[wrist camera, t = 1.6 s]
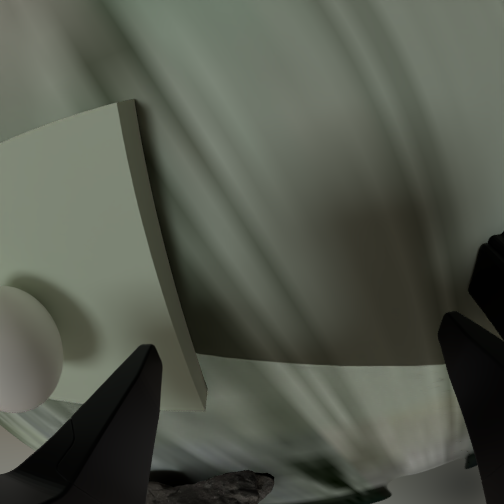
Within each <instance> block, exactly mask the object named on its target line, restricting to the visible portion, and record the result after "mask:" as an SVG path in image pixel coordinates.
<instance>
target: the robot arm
mask: <svg viewBox="0 0 504 504" xmlns="http://www.w3.org/2000/svg"><path fill="white" fill-rule="evenodd" d="M468 291H469V294H470V295H471V296H472V298H473V299H474V300H475V302H476V303H477V304H478V305H479V307H480V308H481V309H482V311H483V312H484V313H485V315H486V316H487V318H488V319H489V320H490V322H491V323H492V324H493V326H494V327H495V329H496V330H497V332H498V333H499V334H500V336H501V337H502V339H503V340H504V231H503V233H502V234H500V235H493V236H491V237H490V238H489V241H488V244H483V245H482V246H481V248H480V252H479V256H478V259H477V263H476V267H475V270H474V274H473V277H472V280H471V284H470V287H469V290H468ZM438 339H439V343H440V346H441V349H442V353H443V356H444V360H445V364H446V367H447V371H448V374H449V378H450V380H451V383H452V386H453V389H454V391H455V394H456V397H457V400H458V403H459V406H460V408H461V411H462V414H463V417H464V420H465V423H466V427H467V430H468V433H469V436H470V440H471V443H472V446H473V450H474V453H475V457H476V461H477V464H478V468H479V472H480V476H481V480H482V485H483V490H484V494H485V498H486V503H487V504H504V341H502V340H501V339H499V338H498V337H496V336H495V335H493V334H492V333H490V332H489V331H487V330H485V329H484V328H482V327H481V326H479V325H478V324H476V323H475V322H473V321H471V320H470V319H468V318H467V317H465V316H463V315H462V314H460V313H459V312H457V311H452V312H448V313H445V314H444V316H443V319H442V322H441V325H440V328H439V331H438ZM162 372H163V365H162V361H161V359H160V356H159V354H158V352H157V349H156V347H155V346H154V345H153V344H141V345H139V346H138V347H137V348H136V350H135V351H134V352H133V353H132V354H131V355H130V356H129V357H128V358H127V359H126V360H125V361H124V362H123V363H122V364H121V365H120V366H119V367H118V368H117V369H116V370H115V371H114V372H113V373H112V375H111V376H110V377H109V378H108V379H107V380H106V381H105V382H104V383H103V384H102V385H101V386H100V387H99V388H98V389H97V390H96V391H95V392H94V393H93V394H92V396H91V397H90V398H89V399H88V400H87V401H86V402H85V403H84V404H83V405H82V406H81V407H80V408H79V409H78V410H77V411H76V412H75V413H74V415H73V416H72V417H71V419H69V420H68V421H67V422H66V423H65V424H64V425H63V426H62V427H61V428H60V429H59V430H58V431H57V432H56V433H55V434H54V435H53V436H52V437H51V438H50V439H49V440H48V441H47V442H46V443H45V444H43V445H42V446H41V447H40V448H39V449H38V450H37V451H35V452H34V454H32V455H31V456H30V457H29V458H27V459H26V460H25V461H24V462H23V463H22V464H20V465H19V466H18V467H17V468H15V469H14V470H12V471H10V472H8V473H5V474H0V504H146V496H147V489H148V482H149V475H150V468H151V462H152V455H153V449H154V443H155V437H156V431H157V425H158V419H159V413H160V401H161V385H162Z"/></svg>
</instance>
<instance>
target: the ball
mask: <svg viewBox="0 0 504 504" xmlns="http://www.w3.org/2000/svg"><path fill="white" fill-rule="evenodd" d="M62 368H63V346H62V341H61V337H60V334H59V331H58V328H57V326H56V324H55V322H54V320H53V318H52V317H51V315H50V314H49V312H48V311H47V309H46V308H45V307H44V306H43V305H42V304H41V303H40V302H39V301H38V300H37V299H36V298H34V297H33V296H32V295H30V294H28V293H27V292H25V291H23V290H20V289H18V288H15V287H10V286H2V285H0V411H3V412H9V413H20V412H25V411H29V410H32V409H34V408H36V407H38V406H39V405H41V404H42V403H44V402H45V401H46V400H47V399H48V398H49V397H50V395H51V394H52V393H53V391H54V390H55V388H56V386H57V385H58V382H59V379H60V376H61V373H62Z"/></svg>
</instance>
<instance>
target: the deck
mask: <svg viewBox="0 0 504 504" xmlns="http://www.w3.org/2000/svg"><path fill="white" fill-rule="evenodd" d="M0 285H2V286H10V287H15V288H18V289H20V290H23V291H25V292H27V293H28V294H30V295H32V296H33V297H34V298H36V299H37V300H38V301H39V302H40V303H41V304H42V305H43V306H44V307H45V308H46V309H47V311H48V312H49V314H50V315H51V317H52V318H53V320H54V322H55V324H56V326H57V328H58V331H59V334H60V337H61V341H62V346H63V368H62V373H61V376H60V379H59V382H58V385H57V386H56V388H55V390H54V391H53V393H52V394H51V395H50V397H49V398H48V399H53V400H59V401H66V402H72V403H79V404H84V403H85V402H86V401H87V400H88V399H89V398H90V397H91V396H92V394H93V393H94V392H95V391H96V390H97V389H98V388H99V387H100V386H101V385H102V384H103V383H104V382H105V381H106V380H107V379H108V378H109V377H110V376H111V375H112V373H113V372H114V371H115V370H116V369H117V368H118V367H119V366H120V365H121V364H122V363H123V362H124V361H125V360H126V359H127V358H128V357H129V356H130V355H131V354H132V353H133V352H134V351H135V350H136V348H137V347H138V346H139V345H141V344H153V345H154V346H155V347H156V349H157V352H158V354H159V356H160V359H161V361H162V365H163V372H162V385H161V401H160V411H205V409H206V399H207V389H208V388H207V385H206V383H205V380H204V377H203V374H202V371H201V368H200V365H199V362H198V359H197V356H196V353H195V350H194V347H193V343H192V340H191V337H190V334H189V331H188V328H187V324H186V321H185V318H184V314H183V311H182V308H181V304H180V301H179V297H178V294H177V290H176V287H175V283H174V280H173V276H172V272H171V269H170V265H169V261H168V257H167V253H166V250H165V246H164V242H163V238H162V234H161V230H160V225H159V221H158V217H157V213H156V209H155V204H154V200H153V195H152V191H151V186H150V182H149V177H148V172H147V167H146V162H145V157H144V152H143V147H142V142H141V136H140V131H139V125H138V119H137V113H136V107H135V101H134V99H131V100H126V101H122V102H118V103H114V104H110V105H106V106H103V107H99V108H96V109H92V110H89V111H85V112H82V113H79V114H76V115H73V116H70V117H67V118H64V119H61V120H58V121H55V122H52V123H49V124H46V125H44V126H41V127H38V128H36V129H33V130H30V131H28V132H25V133H23V134H20V135H18V136H16V137H13V138H11V139H9V140H6V141H4V142H2V143H0Z"/></svg>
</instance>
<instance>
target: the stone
mask: <svg viewBox="0 0 504 504" xmlns="http://www.w3.org/2000/svg"><path fill="white" fill-rule="evenodd" d="M273 486H274V477H273V476H272V475H271V474H268V473H255V472H253V471H250V470H244V471H238V472H230V473H225V474H223V475H218V476H214V477H213V478H211V479H207V480H206V481H201V482H198V483H196V484H187V485H183V486H176V487H171V486H169V485H165V484H162V483H159V482H153V481H151V482H148V489H147V496H146V504H258V502H260V501H261V500H262V499H264V498H265V497H266V495H267V494H269V493H270V492H271V490H272V488H273Z"/></svg>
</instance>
